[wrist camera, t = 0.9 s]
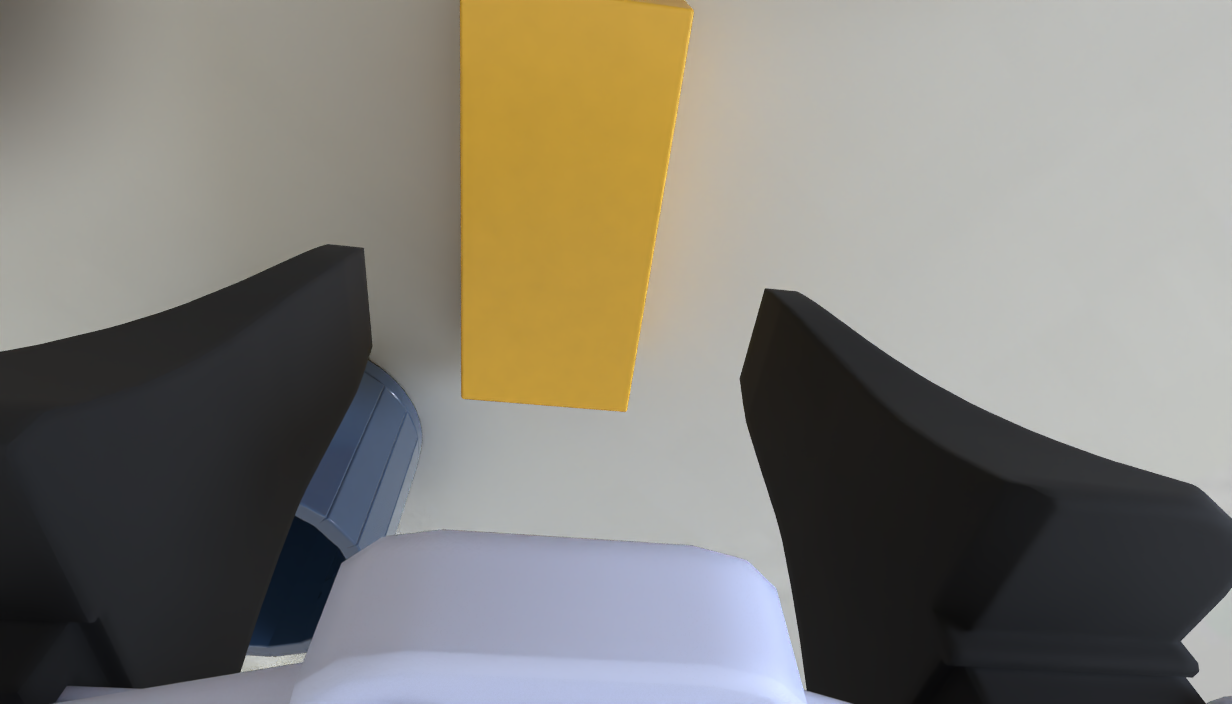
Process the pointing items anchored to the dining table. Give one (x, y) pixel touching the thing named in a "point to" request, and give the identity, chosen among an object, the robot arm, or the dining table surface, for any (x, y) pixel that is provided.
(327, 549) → the espresso cup
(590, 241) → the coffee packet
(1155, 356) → the dining table surface
